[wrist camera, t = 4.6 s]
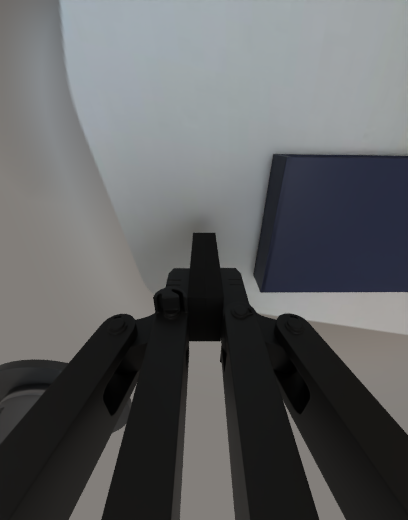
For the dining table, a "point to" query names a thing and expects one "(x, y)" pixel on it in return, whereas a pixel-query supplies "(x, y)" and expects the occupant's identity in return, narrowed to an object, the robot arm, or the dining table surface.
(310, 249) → the book
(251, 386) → the robot arm
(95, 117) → the dining table surface
